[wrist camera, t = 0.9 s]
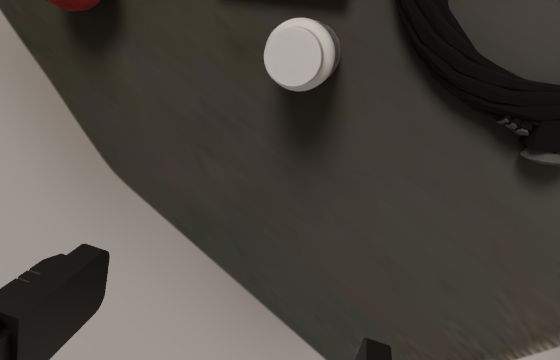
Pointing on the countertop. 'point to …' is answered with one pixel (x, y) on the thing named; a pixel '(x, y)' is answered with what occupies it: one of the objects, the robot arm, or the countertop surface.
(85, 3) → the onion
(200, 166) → the countertop surface
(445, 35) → the cable lock
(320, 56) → the pill bottle
